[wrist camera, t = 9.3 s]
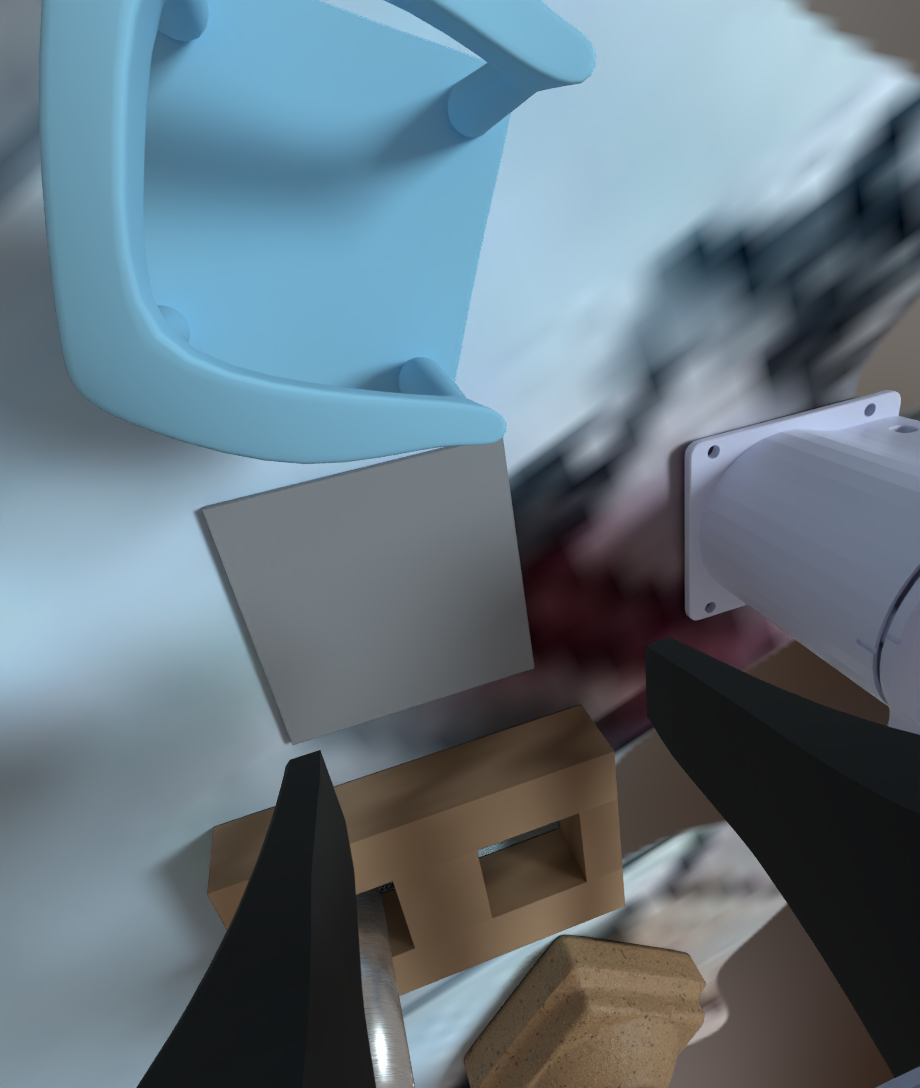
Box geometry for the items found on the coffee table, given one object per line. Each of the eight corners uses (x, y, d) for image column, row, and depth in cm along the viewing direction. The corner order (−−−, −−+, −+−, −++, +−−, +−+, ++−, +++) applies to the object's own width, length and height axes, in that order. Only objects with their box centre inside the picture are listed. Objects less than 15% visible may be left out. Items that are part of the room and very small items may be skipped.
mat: (499, 433, 21) (502, 436, 21) (531, 664, 26) (534, 668, 26) (203, 507, 20) (202, 510, 19) (292, 740, 24) (292, 745, 24)
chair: (414, 397, 20) (577, 544, 10) (129, 347, 17) (-72, 478, 7) (466, 124, 18) (767, -76, 7) (138, 13, 15) (-169, -591, 4)
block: (581, 704, 28) (614, 751, 25) (595, 853, 32) (625, 905, 29) (213, 826, 25) (207, 894, 22) (285, 970, 29) (287, 1040, 27)
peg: (370, 836, 27) (411, 1070, 19) (379, 881, 29) (421, 1118, 21) (301, 856, 27) (314, 1106, 19) (313, 901, 28) (331, 1152, 20)
